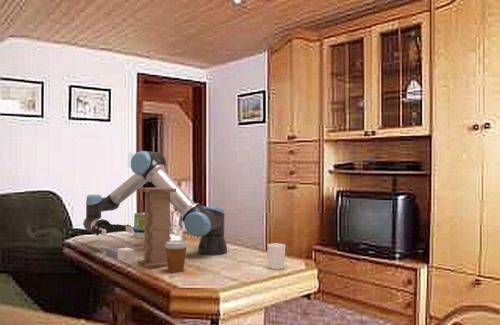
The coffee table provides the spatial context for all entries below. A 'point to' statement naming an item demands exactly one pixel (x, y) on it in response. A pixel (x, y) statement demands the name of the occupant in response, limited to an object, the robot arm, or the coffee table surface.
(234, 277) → the coffee table surface
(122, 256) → the block
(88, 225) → the robot arm
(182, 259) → the disposable coffee cup
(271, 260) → the white cup
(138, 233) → the tea box
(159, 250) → the walnut stand
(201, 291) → the coffee table surface
